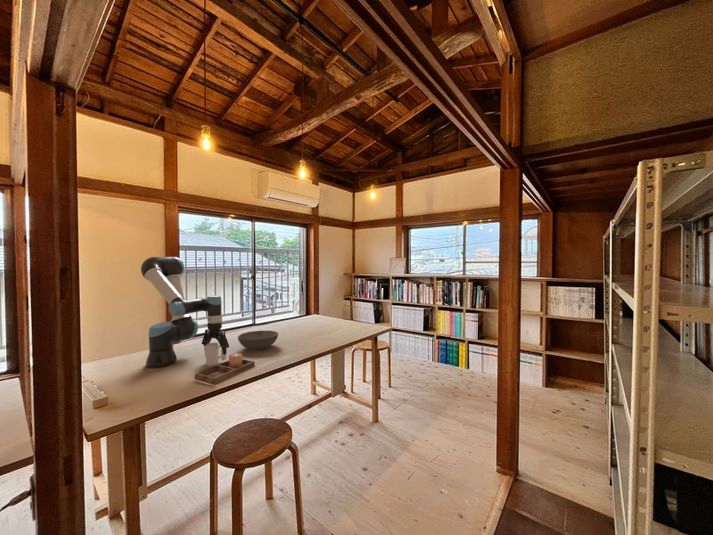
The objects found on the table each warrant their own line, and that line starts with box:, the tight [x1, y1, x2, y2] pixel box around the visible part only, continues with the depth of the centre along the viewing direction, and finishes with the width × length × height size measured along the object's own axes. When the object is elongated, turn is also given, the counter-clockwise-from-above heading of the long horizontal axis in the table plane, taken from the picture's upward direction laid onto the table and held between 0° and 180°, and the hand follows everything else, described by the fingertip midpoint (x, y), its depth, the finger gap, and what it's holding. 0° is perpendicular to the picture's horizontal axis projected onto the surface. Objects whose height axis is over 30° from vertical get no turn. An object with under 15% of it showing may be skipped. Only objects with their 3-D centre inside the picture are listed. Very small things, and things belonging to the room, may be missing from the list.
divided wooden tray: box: [194, 358, 256, 386], centre depth 159 cm, size 15×26×3 cm, turn 155°
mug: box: [205, 342, 222, 367], centre depth 172 cm, size 10×7×12 cm, turn 135°
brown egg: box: [228, 352, 243, 369], centre depth 165 cm, size 7×7×7 cm
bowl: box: [237, 330, 279, 351], centre depth 201 cm, size 26×26×10 cm
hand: (215, 358), depth 172 cm, fingers open, 13 cm apart
